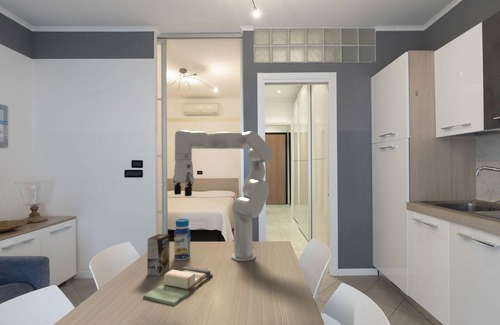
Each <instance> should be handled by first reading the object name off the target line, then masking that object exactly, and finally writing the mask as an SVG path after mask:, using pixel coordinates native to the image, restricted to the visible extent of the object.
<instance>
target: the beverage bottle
mask: <svg viewBox="0 0 500 325" xmlns="http://www.w3.org/2000/svg"><path fill="white" fill-rule="evenodd" d="M189 223H190V220H189V218H188V219H187V218H179V219H175V230H174V233H173V234H174V238H173V240H174V241H173V242H174V243H173V244H174V248H173V249H174V259H175V260H176V261H185V260H189V259H190V258H191V229H190V228H189V225H190V224H189Z"/></svg>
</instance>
